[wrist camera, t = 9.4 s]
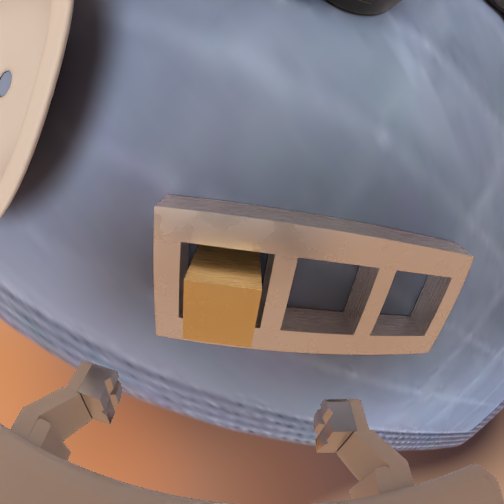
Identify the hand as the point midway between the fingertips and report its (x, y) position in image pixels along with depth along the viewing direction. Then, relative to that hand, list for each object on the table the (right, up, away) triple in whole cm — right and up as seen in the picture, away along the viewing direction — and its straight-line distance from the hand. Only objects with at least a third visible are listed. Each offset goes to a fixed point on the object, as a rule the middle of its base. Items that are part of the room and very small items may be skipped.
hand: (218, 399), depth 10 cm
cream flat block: (+6, +4, +11) cm, 13 cm away
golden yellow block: (-1, +5, +11) cm, 12 cm away
